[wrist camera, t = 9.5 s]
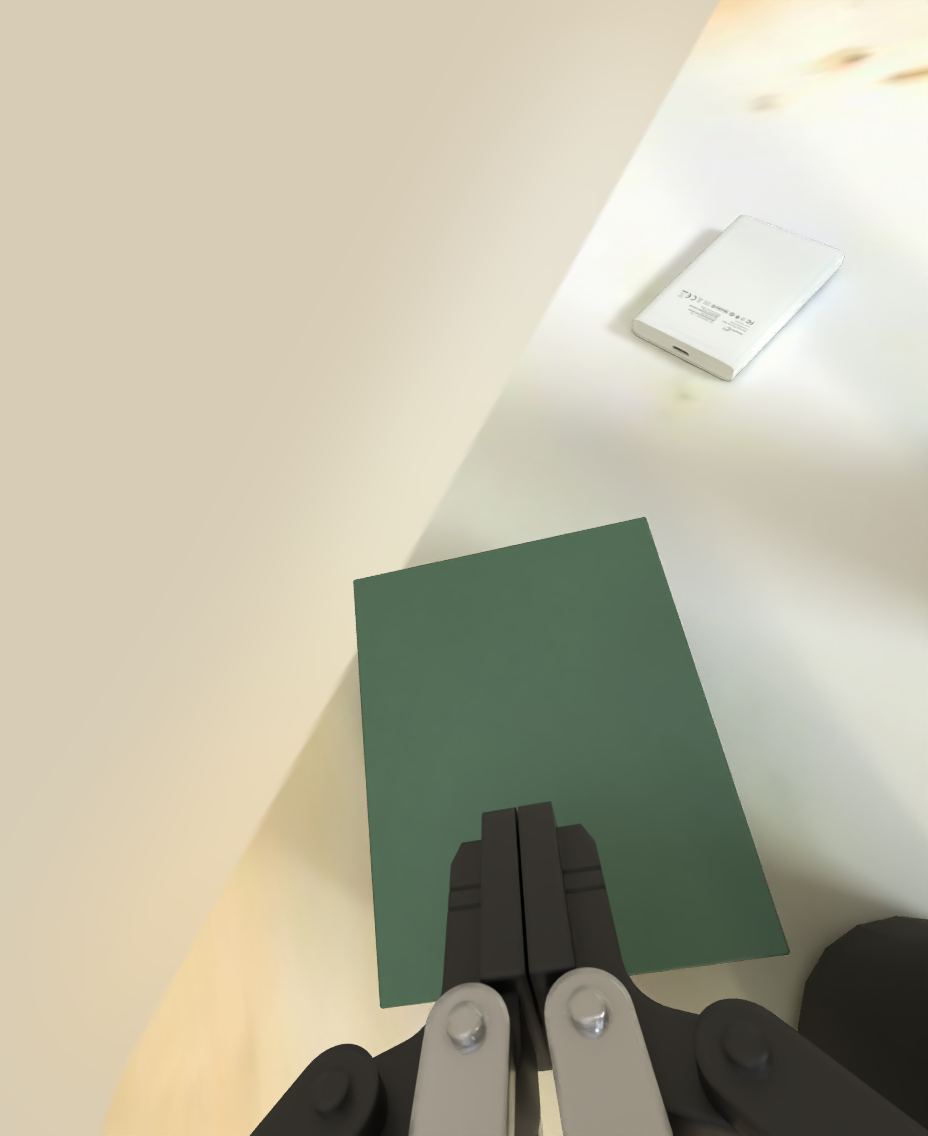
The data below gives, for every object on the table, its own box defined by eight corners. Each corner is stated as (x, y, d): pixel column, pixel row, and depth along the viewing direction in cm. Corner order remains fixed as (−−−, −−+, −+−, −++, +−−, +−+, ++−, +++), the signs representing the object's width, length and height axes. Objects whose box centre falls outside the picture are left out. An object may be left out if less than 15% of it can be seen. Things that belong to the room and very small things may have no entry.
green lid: (358, 586, 28) (352, 579, 27) (644, 524, 26) (645, 515, 26) (386, 1003, 20) (379, 1009, 20) (783, 950, 19) (791, 954, 18)
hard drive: (837, 272, 41) (730, 384, 39) (735, 232, 45) (630, 333, 42) (847, 252, 40) (735, 366, 38) (740, 212, 43) (632, 315, 41)
